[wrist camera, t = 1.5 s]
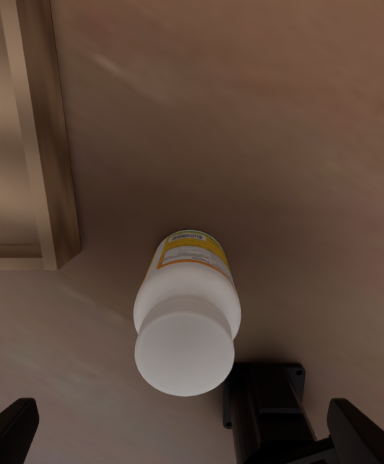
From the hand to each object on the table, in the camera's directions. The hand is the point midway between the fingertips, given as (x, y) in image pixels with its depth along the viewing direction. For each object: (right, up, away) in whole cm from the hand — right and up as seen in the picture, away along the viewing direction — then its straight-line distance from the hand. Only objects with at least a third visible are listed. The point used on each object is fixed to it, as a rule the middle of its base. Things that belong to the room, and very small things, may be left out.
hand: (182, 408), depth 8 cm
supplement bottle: (0, +3, +12) cm, 12 cm away
